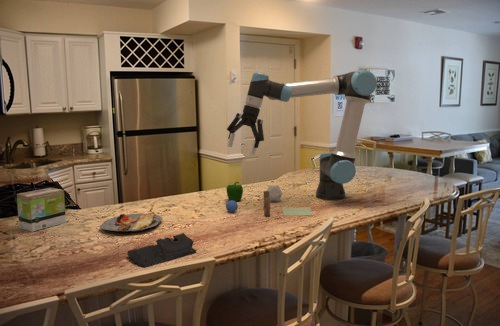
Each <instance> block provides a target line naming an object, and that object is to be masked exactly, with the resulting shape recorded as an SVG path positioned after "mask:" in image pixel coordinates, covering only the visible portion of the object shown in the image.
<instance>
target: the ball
mask: <svg viewBox="0 0 500 326" xmlns="http://www.w3.org/2000/svg"><path fill="white" fill-rule="evenodd" d="M238 208H239V205H238V203H237V201H233V200H228V201H227V202H226V204H225V210H226V211H228V212H229V213H235V212H236V211H237V210H238Z"/></svg>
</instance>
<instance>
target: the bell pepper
mask: <svg viewBox="0 0 500 326" xmlns="http://www.w3.org/2000/svg"><path fill="white" fill-rule="evenodd" d="M225 189H226V195H227V199H228V201H230V200H233V201H235V202H238V201H239V202H240V201H241V199H242V198H243V193H244V191H243V190H244V187H243V186H242V184H240V181H234V183H233V184H228V185H227V187H226V188H225Z"/></svg>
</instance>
